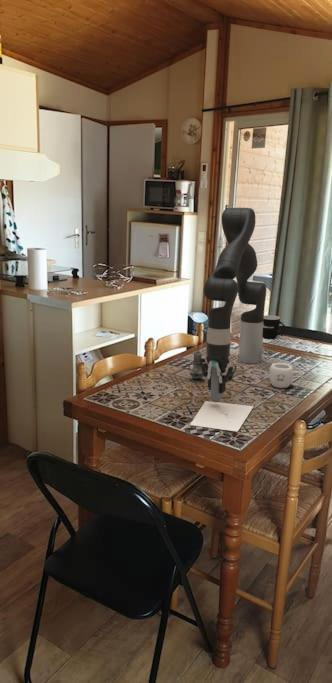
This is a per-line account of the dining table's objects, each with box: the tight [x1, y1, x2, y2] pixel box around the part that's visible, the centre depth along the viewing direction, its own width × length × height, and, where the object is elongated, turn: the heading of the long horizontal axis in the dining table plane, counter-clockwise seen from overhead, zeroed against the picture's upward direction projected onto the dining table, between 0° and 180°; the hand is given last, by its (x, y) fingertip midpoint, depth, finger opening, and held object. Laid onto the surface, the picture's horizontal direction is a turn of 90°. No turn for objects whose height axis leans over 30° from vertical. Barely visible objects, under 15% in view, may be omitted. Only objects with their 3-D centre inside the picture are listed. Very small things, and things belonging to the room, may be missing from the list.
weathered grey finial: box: [189, 349, 205, 384], centre depth 200 cm, size 6×6×12 cm
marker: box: [209, 360, 223, 403], centre depth 175 cm, size 4×4×14 cm
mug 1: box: [262, 314, 286, 340], centre depth 262 cm, size 12×9×10 cm
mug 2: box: [268, 362, 304, 389], centre depth 196 cm, size 12×8×8 cm
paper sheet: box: [189, 400, 254, 432], centre depth 173 cm, size 24×29×1 cm
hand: (216, 391), depth 177 cm, fingers closed on marker, 3 cm apart
